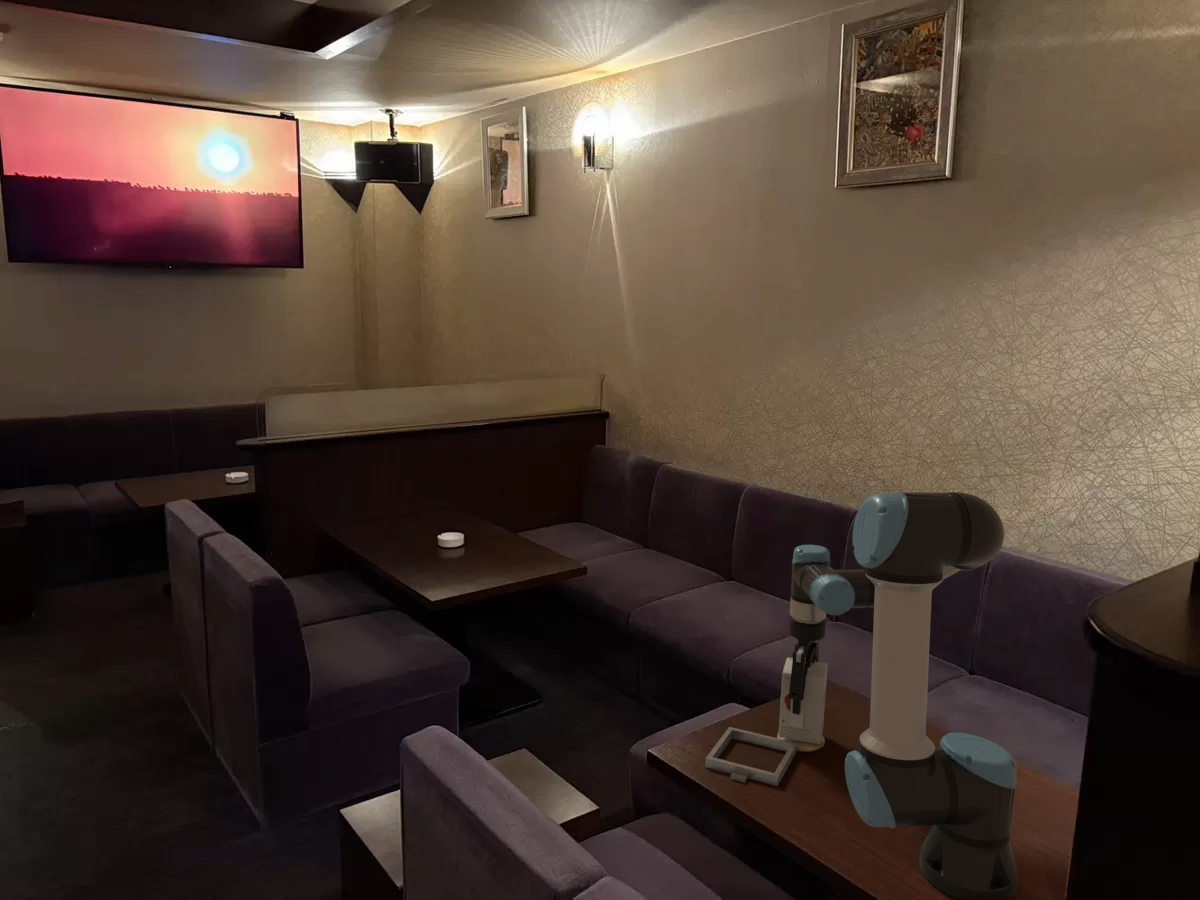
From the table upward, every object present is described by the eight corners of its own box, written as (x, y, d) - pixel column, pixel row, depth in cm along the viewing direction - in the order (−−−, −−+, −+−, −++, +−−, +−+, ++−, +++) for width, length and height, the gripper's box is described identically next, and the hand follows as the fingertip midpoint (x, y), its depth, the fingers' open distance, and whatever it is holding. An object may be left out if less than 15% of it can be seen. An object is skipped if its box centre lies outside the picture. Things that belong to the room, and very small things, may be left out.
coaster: (818, 755, 184) (818, 753, 184) (771, 744, 188) (772, 742, 188) (829, 735, 193) (829, 732, 193) (784, 724, 197) (784, 722, 197)
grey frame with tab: (774, 791, 170) (775, 781, 170) (701, 771, 177) (702, 762, 177) (799, 747, 187) (799, 738, 187) (731, 731, 194) (732, 722, 193)
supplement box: (777, 737, 187) (780, 672, 185) (782, 719, 196) (786, 656, 193) (820, 745, 184) (824, 678, 182) (824, 726, 193) (828, 662, 190)
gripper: (813, 638, 174) (807, 742, 178) (836, 605, 194) (830, 699, 198) (776, 631, 178) (771, 734, 181) (803, 599, 197) (797, 692, 201)
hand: (802, 716), depth 189 cm, fingers closed on supplement box, 9 cm apart
